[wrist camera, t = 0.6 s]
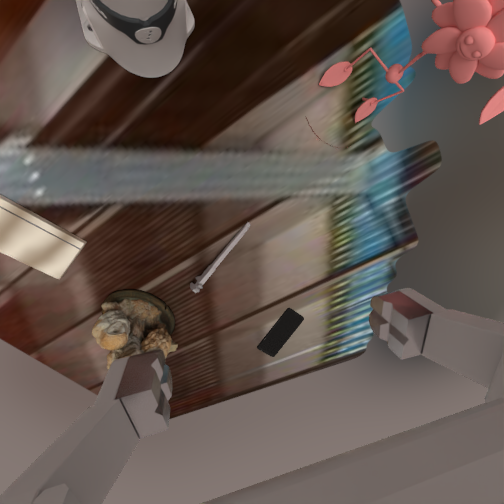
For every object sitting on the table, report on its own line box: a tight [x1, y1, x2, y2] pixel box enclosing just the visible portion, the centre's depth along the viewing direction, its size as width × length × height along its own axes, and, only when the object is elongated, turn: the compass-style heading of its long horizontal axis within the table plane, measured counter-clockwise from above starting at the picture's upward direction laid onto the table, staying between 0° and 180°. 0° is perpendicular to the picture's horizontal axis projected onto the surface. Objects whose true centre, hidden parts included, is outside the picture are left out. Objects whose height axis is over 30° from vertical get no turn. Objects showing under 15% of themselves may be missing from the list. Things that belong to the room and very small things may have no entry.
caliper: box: [190, 222, 251, 293], centre depth 54 cm, size 20×1×6 cm, turn 134°
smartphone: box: [257, 308, 304, 357], centre depth 69 cm, size 7×1×15 cm
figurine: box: [306, 0, 504, 150], centre depth 39 cm, size 15×26×35 cm, turn 53°
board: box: [0, 195, 87, 279], centre depth 43 cm, size 24×9×2 cm, turn 51°
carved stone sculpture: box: [92, 289, 178, 370], centre depth 48 cm, size 18×12×17 cm, turn 51°
